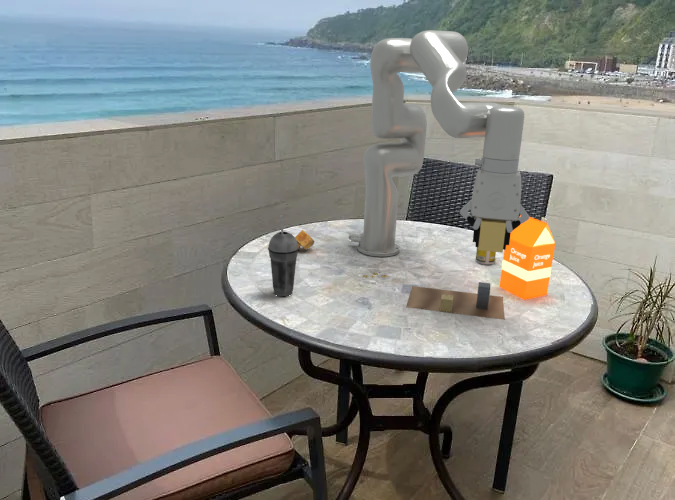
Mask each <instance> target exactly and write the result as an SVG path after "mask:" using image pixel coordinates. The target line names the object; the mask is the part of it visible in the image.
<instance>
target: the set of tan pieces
mask: <svg viewBox="0 0 675 500" xmlns="http://www.w3.org/2000/svg"><path fill="white" fill-rule="evenodd" d="M378 275H379V273H378V272H373V273H372V275H366V274H363V275H362V278H365V279H366V278H368V277H369V276H370V278H372V279H373V278H376V276H378ZM381 277H382V278H384V279H385V278H388V275H386V274H382V275H381Z"/></svg>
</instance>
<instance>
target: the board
mask: <svg viewBox="0 0 675 500" xmlns="http://www.w3.org/2000/svg"><path fill="white" fill-rule="evenodd" d="M410 288H411V289H410V293H409V294H408V295H409V296H408V298H407V299H408V300H407V303H406V305H405V307H406V308H409V309H417V310H426V311H433V312H441V313H445V312H444V311H440V305H441V296H442V295H451V296H453V303H452V312H447V313H448V314H458V315H464V316H473V317H480V318H488V319H497V320H502V321H504V320H506V318H505V316H506V315H505V306H504V296H501V295H500V296H499V295H492V294H491V295H489V303H488V310H486V309H478V308H476V301H477V293H476V292H475V293H474V292H466V291H456V290H451V289H450V290H449V289H442V288H434V287H433V288H431V287H425V286H424V287H423V286H417V285H416V286H415V285H412V286H411V287H410Z"/></svg>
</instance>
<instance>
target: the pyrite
mask: <svg viewBox="0 0 675 500" xmlns="http://www.w3.org/2000/svg"><path fill="white" fill-rule="evenodd" d="M294 237H295V238H296V240H297V244H298V248H299V249H300V248H301V247H302V248H303V249H304V250H305V249H308V248H309V249H310V248H311V247H312V246H313V245H314V244H315V240H314V239H313V238H312V236H310V235H309V234H308V233H307V232H306V231H305V230H304V229H302V230H301V231H299V233H297V234H296V236H294ZM309 249H308V250H309Z"/></svg>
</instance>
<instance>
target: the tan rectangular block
mask: <svg viewBox="0 0 675 500" xmlns="http://www.w3.org/2000/svg"><path fill="white" fill-rule="evenodd" d="M505 229H506V222H505V220H493V219H482V220H481V223H480V237H479V246H478V250H481V251H492V252H496V253H503V254H504V250H503V245H504V237H505Z"/></svg>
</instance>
